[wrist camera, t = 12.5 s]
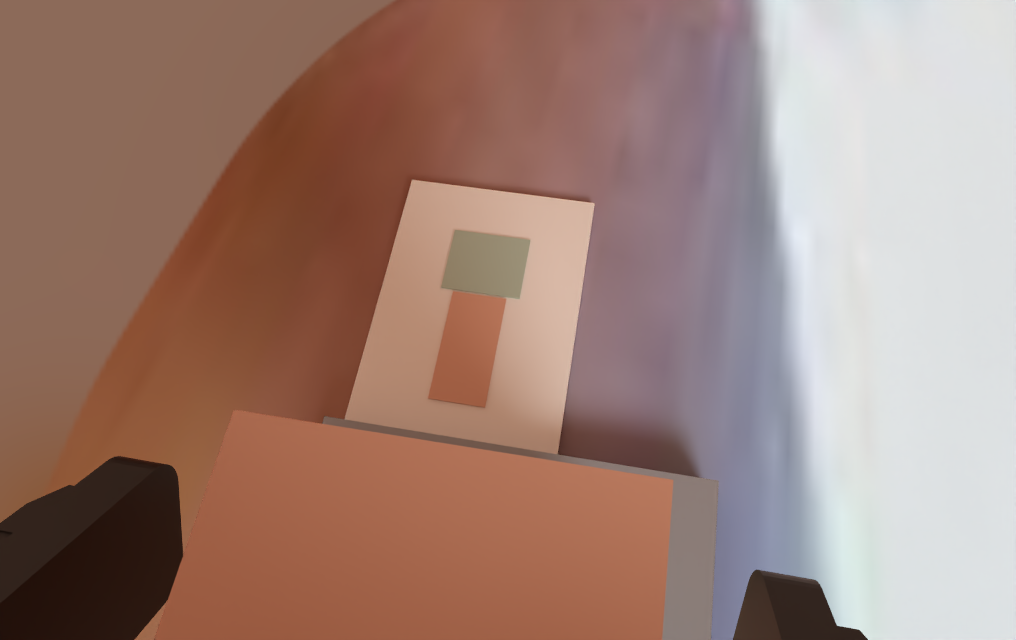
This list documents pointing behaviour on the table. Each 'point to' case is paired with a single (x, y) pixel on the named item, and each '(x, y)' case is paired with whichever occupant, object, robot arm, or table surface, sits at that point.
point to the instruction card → (476, 317)
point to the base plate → (687, 539)
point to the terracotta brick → (415, 543)
